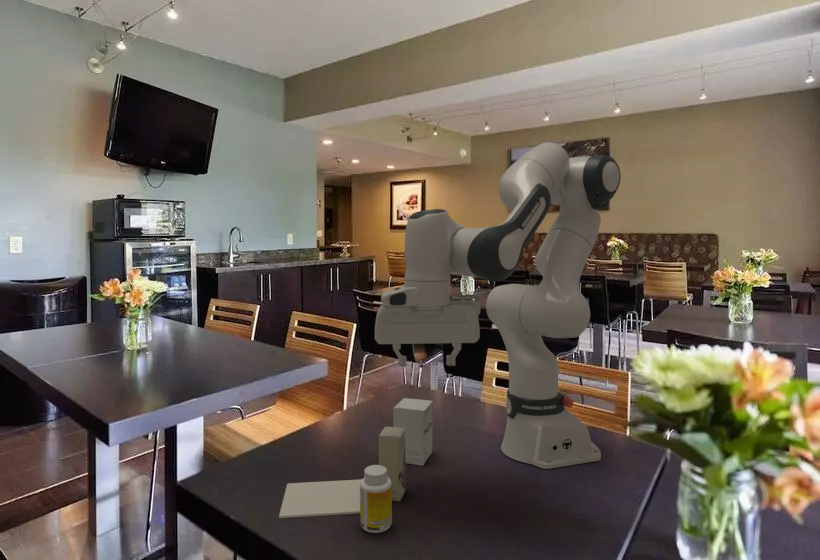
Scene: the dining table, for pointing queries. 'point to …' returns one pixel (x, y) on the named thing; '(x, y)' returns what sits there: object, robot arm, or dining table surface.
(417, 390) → the dining table surface
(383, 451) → the box
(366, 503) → the supplement bottle
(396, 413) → the supplement box
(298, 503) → the mat
